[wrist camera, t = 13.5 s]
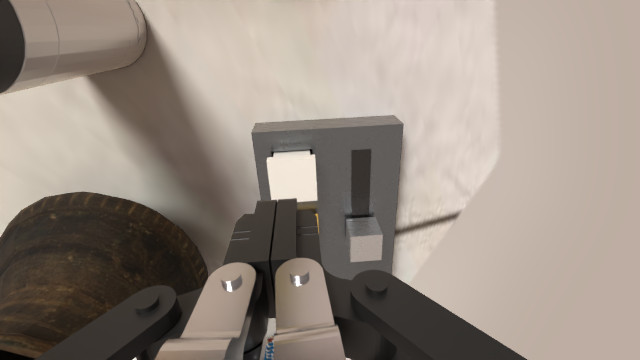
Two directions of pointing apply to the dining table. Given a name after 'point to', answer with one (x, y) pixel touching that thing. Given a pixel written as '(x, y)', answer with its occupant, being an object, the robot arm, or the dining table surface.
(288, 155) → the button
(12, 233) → the ceramic pot
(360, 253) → the brushed metal cube
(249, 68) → the dining table surface
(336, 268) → the panel
